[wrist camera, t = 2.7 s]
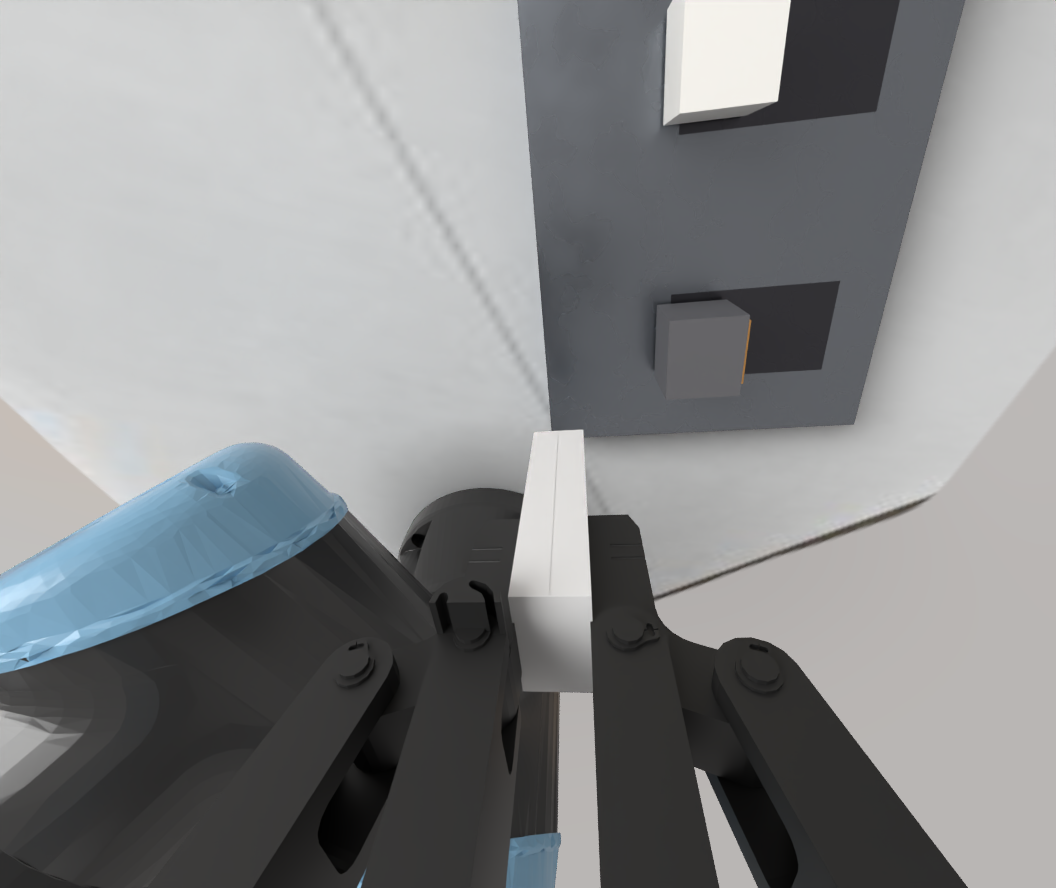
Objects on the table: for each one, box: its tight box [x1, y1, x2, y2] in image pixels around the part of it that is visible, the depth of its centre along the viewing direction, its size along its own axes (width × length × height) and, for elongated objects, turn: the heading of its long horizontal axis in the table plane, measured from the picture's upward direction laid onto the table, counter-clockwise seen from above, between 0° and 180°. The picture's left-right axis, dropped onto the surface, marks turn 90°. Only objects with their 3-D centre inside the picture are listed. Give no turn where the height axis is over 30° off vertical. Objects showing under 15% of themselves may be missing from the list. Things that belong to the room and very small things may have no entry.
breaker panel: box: [517, 0, 965, 437], centre depth 24 cm, size 23×18×3 cm
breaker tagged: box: [654, 299, 751, 400], centre depth 24 cm, size 4×4×4 cm
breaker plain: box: [663, 0, 791, 126], centre depth 18 cm, size 4×4×4 cm
